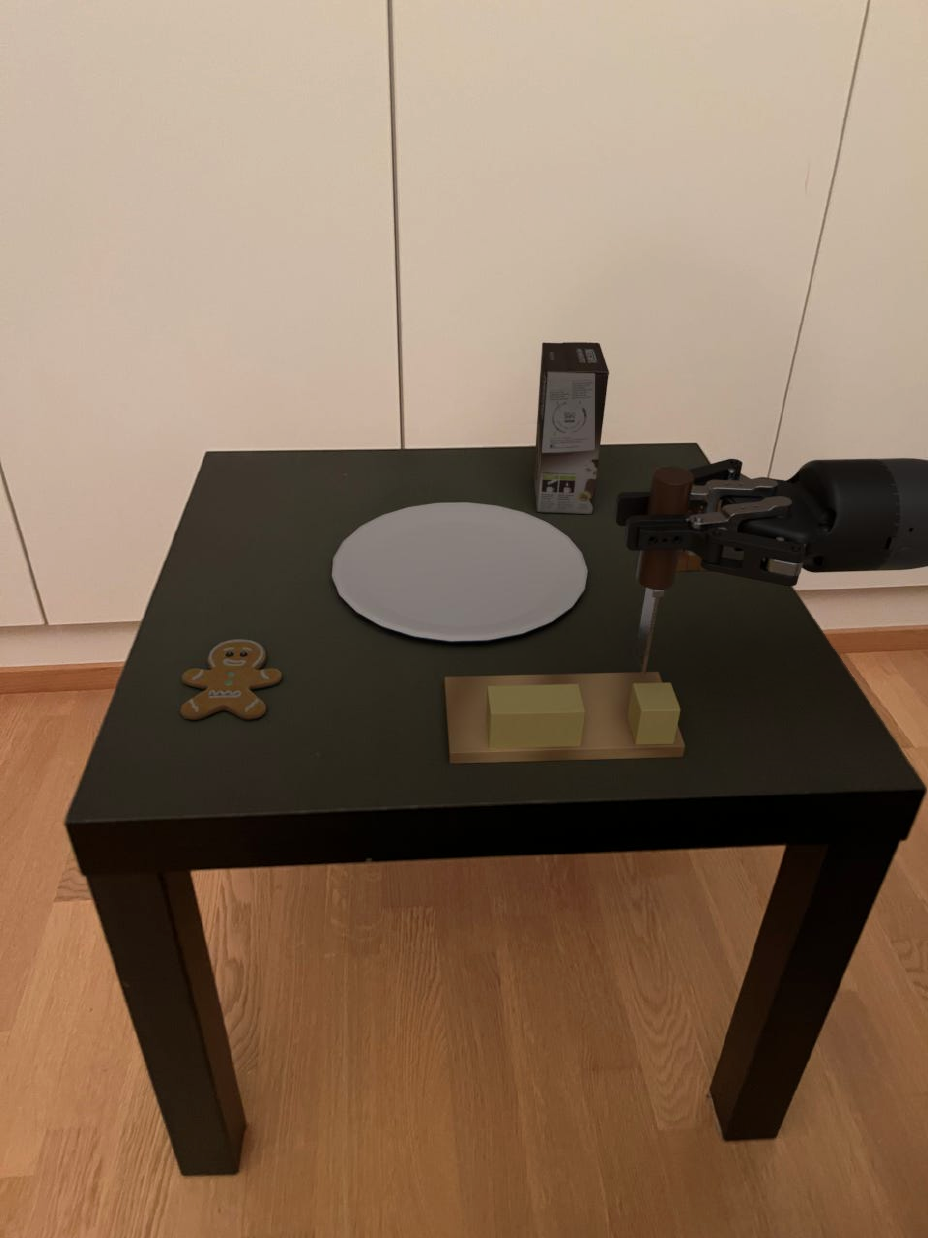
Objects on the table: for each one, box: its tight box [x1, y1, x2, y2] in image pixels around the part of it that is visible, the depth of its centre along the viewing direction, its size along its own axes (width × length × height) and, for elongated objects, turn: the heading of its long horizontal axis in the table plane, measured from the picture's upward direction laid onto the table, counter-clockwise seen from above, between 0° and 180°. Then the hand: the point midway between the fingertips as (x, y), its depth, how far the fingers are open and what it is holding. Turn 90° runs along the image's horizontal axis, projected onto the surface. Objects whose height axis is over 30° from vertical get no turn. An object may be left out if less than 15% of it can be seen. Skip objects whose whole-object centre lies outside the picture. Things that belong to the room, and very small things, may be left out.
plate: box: [331, 501, 588, 644], centre depth 93 cm, size 25×25×1 cm
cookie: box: [179, 639, 283, 721], centre depth 79 cm, size 8×1×10 cm
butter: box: [486, 684, 585, 748], centre depth 72 cm, size 7×3×4 cm, turn 94°
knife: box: [634, 465, 694, 674], centre depth 65 cm, size 3×3×15 cm
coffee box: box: [533, 341, 610, 515], centre depth 102 cm, size 9×6×16 cm
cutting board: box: [443, 671, 686, 765], centre depth 76 cm, size 18×9×1 cm, turn 93°
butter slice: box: [627, 682, 681, 745], centre depth 73 cm, size 3×3×4 cm
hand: (622, 521), depth 62 cm, fingers closed on knife, 2 cm apart
